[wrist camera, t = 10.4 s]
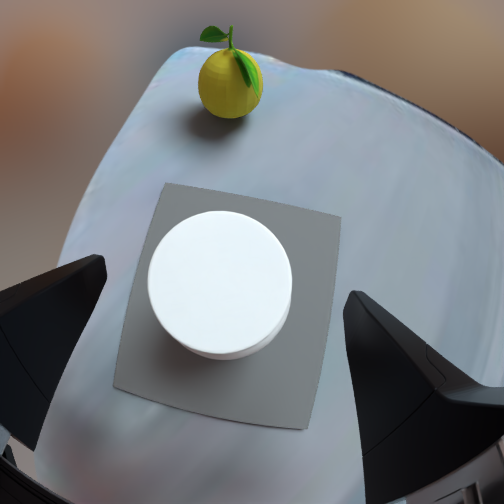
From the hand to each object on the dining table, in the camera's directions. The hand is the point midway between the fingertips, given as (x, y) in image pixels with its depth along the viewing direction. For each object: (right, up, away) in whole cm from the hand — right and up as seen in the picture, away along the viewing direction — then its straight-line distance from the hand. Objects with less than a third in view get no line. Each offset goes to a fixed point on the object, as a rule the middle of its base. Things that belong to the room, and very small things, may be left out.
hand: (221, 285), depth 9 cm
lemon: (-1, +14, +15) cm, 20 cm away
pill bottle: (0, -3, +9) cm, 9 cm away
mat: (0, -3, +9) cm, 10 cm away
